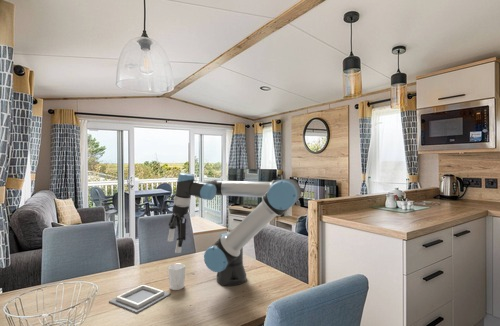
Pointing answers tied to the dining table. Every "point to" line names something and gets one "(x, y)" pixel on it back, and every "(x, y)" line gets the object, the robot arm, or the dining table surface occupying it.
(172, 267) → the white cup
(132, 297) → the holder
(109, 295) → the dining table surface
